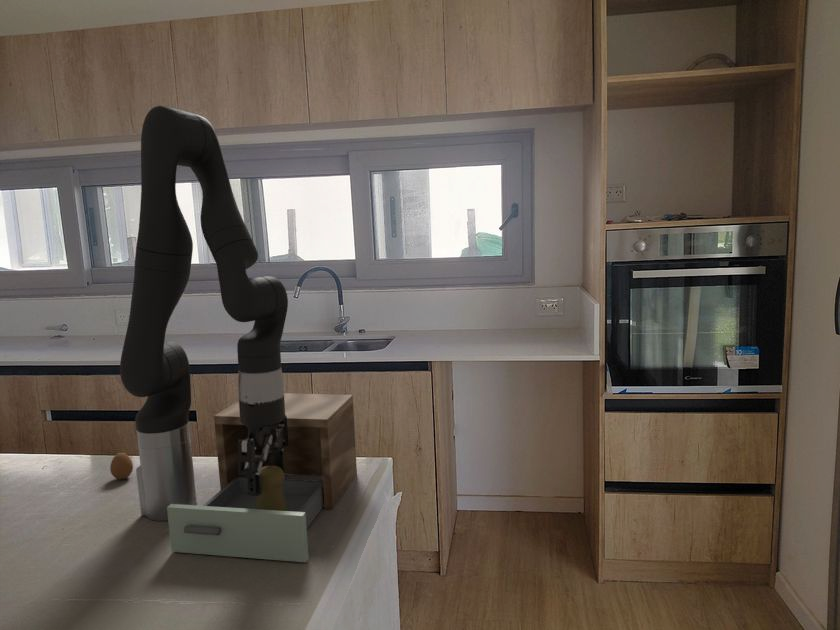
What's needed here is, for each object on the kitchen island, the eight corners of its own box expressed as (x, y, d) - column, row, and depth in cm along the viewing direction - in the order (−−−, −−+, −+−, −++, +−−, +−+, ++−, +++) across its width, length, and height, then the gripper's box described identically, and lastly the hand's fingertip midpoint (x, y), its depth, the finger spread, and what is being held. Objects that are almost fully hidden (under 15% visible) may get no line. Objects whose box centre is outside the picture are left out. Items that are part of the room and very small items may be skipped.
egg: (128, 482, 128) (124, 456, 127) (107, 483, 128) (104, 457, 127) (137, 474, 132) (135, 448, 131) (118, 474, 132) (115, 449, 131)
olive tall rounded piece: (282, 537, 100) (277, 476, 99) (249, 535, 101) (244, 475, 100) (295, 519, 106) (291, 462, 104) (264, 517, 107) (259, 460, 106)
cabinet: (221, 502, 117) (213, 415, 114) (258, 469, 132) (252, 392, 129) (332, 509, 112) (327, 419, 109) (356, 474, 128) (352, 394, 125)
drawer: (166, 555, 98) (162, 510, 96) (233, 494, 119) (230, 457, 118) (302, 567, 93) (299, 520, 92) (346, 501, 115) (344, 462, 114)
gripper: (260, 382, 107) (265, 465, 110) (219, 406, 94) (225, 501, 96) (298, 384, 106) (302, 468, 108) (262, 408, 92) (268, 504, 95)
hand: (266, 483), depth 102 cm, fingers open, 8 cm apart
